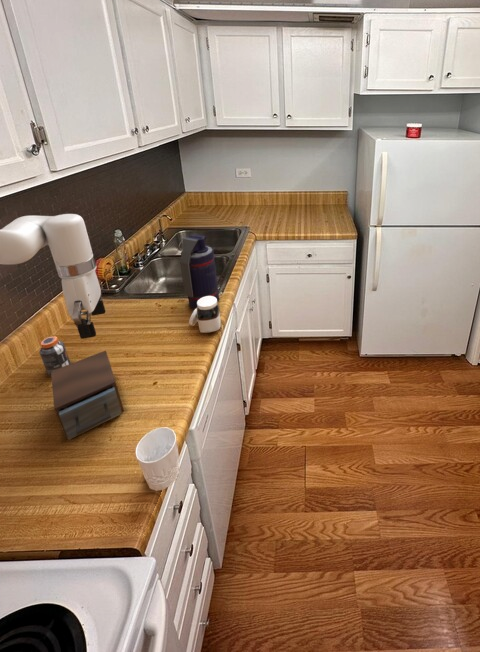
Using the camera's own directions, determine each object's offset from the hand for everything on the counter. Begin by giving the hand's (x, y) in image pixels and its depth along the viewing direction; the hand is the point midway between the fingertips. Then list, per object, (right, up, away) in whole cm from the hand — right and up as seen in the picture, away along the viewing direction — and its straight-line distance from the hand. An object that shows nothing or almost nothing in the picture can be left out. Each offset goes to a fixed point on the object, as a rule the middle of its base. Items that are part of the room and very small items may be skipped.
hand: (94, 324), depth 85 cm
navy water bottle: (+11, -6, +50) cm, 52 cm away
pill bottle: (-23, -19, +18) cm, 35 cm away
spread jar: (+16, -12, +37) cm, 42 cm away
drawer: (-2, -24, +2) cm, 24 cm away
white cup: (+23, -31, -11) cm, 40 cm away
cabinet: (-4, -24, +6) cm, 25 cm away
